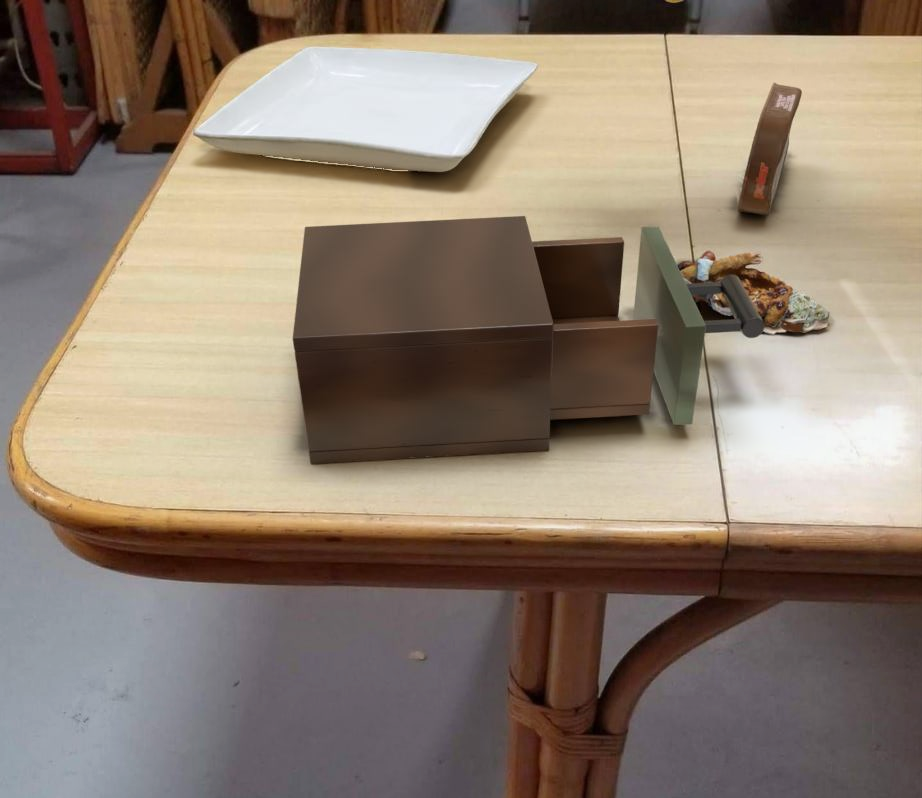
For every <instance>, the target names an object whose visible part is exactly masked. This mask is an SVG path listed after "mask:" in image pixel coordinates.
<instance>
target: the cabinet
mask: <svg viewBox="0 0 922 798" xmlns="http://www.w3.org/2000/svg"><path fill="white" fill-rule="evenodd" d="M302 240H303V241H302V249H301V258H300V267H299V276H298V285H297V294H296V304H295V313H294V322H293V331H292V344H293V350H294V359H295V365H296V366H295V367H296V372H297V380H298V386H299V393H300V394H299V395H300V401H301V407H302V416H303V420H304V421H303V422H304V429H305V434H306V442H307V448H308V449H307V450H308V456H309V463H310V464H311V465H317V464H318V465H319V464H332V463H335V464H336V463H352V462H367V461H369V460H371V461H385V460H386V461H388V460H405V459H404V458H406V459H411V458H410V457H424V458H427V457H426V456H441V457H447V456H446V455H449V456H448V457H451V456H450V455H459V456H472V455H471V454H477V455H492V454H493V453H494V454H503V453H502V452H505V453H504V454H508V453H509V454H510V453H527V452H544V451H546V450H547V451H550V440H551V439H550V435H551V420H550V412H551V385H552V358H553V331H554V324H553V320H552V316H551V313H550V309H549V305H548V301H547V297H546V293H545V290H544V286H543V282H542V278H541V274H540V270H539V266H538V263H537V259H536V255H535V251H534V247H533V243H532V242H533V240H532V237H531V232H530V229H529V225H528V220H527V217H526V215H517V216H497V217H495V216H494V217H474V218H457V219H455V218H454V219H436V220H435V219H433V220H416V221H415V220H414V221H413V220H411V221H395V222H392V221H391V222H373V223H355V224H353V223H352V224H336V225H335V224H334V225H314V226H304V231H303V238H302ZM547 451H546V452H547ZM494 454H493V455H494Z"/></svg>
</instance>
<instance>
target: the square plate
mask: <svg viewBox="0 0 922 798" xmlns="http://www.w3.org/2000/svg"><path fill="white" fill-rule="evenodd" d="M538 69H539V65H538V64H537V63H536V62H532V61H526V60H525V61H523V60H514V59H504V58H495V57H489V56H487V57H486V56H477V55H469V54H458V53H448V52H436V51H423V50H409V49H408V50H407V49H392V48H391V49H390V48H389V49H387V48H369V47H368V48H364V47H336V46H335V47H332V46H306V47H303V48H302V49H300V50H299V51H298V52H296V53H294V54H293V55H292V56H290V57H289V58H288V59H286V60H284V61H283V62H282V63H280V64H279V65H277V66H276V67H274V68H273V69H271V70H270V71H268V72H267V73H266V74H265V75H263V76H262V77H261V78H259V79H258V80H256V81H255V82H254V83H252V84H251V85H249V86H248V87H247V88H245V89H244V90H243V91H241V92H240V93H239V94H238V95H236V96H235V97H233V99H231V100H230V101H228V102H227V103H226V104H224V105H223V106H222V107H220V108H219V109H218V110H217V111H215V112H214V113H212V114H211V115H210V116H209V117H208V118H207V119H205V120H204V121H202V123H200V124H199V125H198V126H197V127H196V128H194V129H193V131H192V136H194V137H197V138H198V139H200V140H201V141H202V142H204V143H206V144H208V145H209V146H211V147H214V148H216V149H219V150H223V151H226V152H231V153H236V154H237V153H238V154H245V155H255V156H261V155H264V156H273V157H283V158H292V159H301V160H310V161H318V162H328V163H338V164H348V165H356V166H364V167H373V168H374V167H375V168H382V169H383V168H384V169H392V170H408V171H418V172H428V173H429V172H430V173H444V172H448V171H451V170H452V169H454V168H456V167H457V166H458V165H459V164H460V163H461V162H462V160H463V159H464V158H465V157H467V156H468V155H470V153H471V152H472V151H473V150H474V149H475V147H476V146H477V144H478V143H479V141H480V139H481V138H482V136H483V134H484V133H485V131H486V130H487V128H488V126H489V125H490V123H491V122H492V121H493V119H494V118H495V117H496V116H497V114H499V112H500V111H501V110H502V109H503V108H504V107H505V106H506V105H507V104H508V103H509V102H510V101H511V100H512V99H513V98H514V97H515V96H516V94H517V93H518V92H519V91H520V89H521V88H522V86H524V84H525V83H526V82H527V81H528V80H529V79H530V78H532V76H533V75H534V74H535V73H536V71H537V70H538Z"/></svg>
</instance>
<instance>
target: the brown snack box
mask: <svg viewBox="0 0 922 798" xmlns="http://www.w3.org/2000/svg"><path fill="white" fill-rule="evenodd" d="M802 94H803V91H802V89H801V88H799V87H795V86H789V85H785V84H779V83H778V84H777V83H776V82H773V83H772V85H771V87H770V90H769V93H768V95H767V98H766V100H765V103H764V105H763V107H762V109H761V111H760V112H761V113H760V116H759V119H758V121H757V125H756V129H755V133H754V136H753V139H752V144H751V148H750V151H749V155H748V159H747V165H746V168H745V172H744V177H743V180H742V186H741V190H740V195H739V200H738V204H737V205H738V206H737V212H738V213H741V212H744V213H749V214H755V215H761V216H765V215H769V213H770V211H771V209H772V206H773V203H774V200H775V197H776V194H777V191H778V188H779V185H780V180H781V177H782V173H783V169H784V166H785V161H786V158H787V155H788V149H789V145H790V135H791V129H792V125H793V122H794V121H793V120H794V118H795V117H796V116H795V115H796V113H797V110H798V108H799V105H800V102H801V98H802Z"/></svg>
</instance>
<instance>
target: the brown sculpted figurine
mask: <svg viewBox="0 0 922 798" xmlns="http://www.w3.org/2000/svg"><path fill="white" fill-rule="evenodd" d="M761 254H762V252H755V253H754V252H753V253H751V252H743V253H739V254H736V255H729V256H728V257H723V258H721V259H717V260H716V255H715V253H714V252H713V251H711V250H706V251H705V252H703V253H702V254H701V256H699V258H698V259H696V260H695V262H692V261H690V260H682V261H680V262H678V264H677V266H678V268H679V270H680V272H681V274H682V276H683V279H684V281H685V283H686V284H692V283H712V282H720V281H721V279H722V278H723V277H725V276H727V275H736V276H737V277H738V278H739V279H740V281H741V283H742V285H743V286H744V288H745V290H746V292H747V293H748V295H749V297H750V299H751V301H752V302H753V304H754V306H755V308H756V309H757V311H758V313H759V315H760V317H761V318H762V320H763V322H764V325H765V326H764V330H763V332H764V333H765V334H768V335H771V336H774V335H775V334H776V333H786V332H791V333H801V334H802V335H803V334H804V333H805V334H806V333H808V332H811V331H812V330H816V331H817V330H818V331H820V330H822V329H823V328H828V324H829V320H830V313H831V312H830V311H829V310H827V309H826V308H825V306H824V305H823V304H821V305H820V303H818V302H816V301H815V299H814V298H812V297H810V296H809V295H808V294H806V293H805V292H804V291H800V292H798V289H794V288H793V287H792V286H790V285H787V284H786V282H785V281H784V280H781V279H779V278H776V277H775V276H770V274H768V273H766V272H765V271H762V270H761V271H760V270H759V269H757V268H754V267H747V266H754V265H760V264H761V263H762V262H763V257H762V256H760V255H761ZM692 297H693V300H694V302H695V304H696V303H700V302H701V301H704V302H705V303H707V304H708V307H711V308H712V310H714V311H716V312H718V313H720V314H721V315H724V316H728V317H731V316H733V314H732V312H731V310H730V308H729V306H728V304H727V302H726V300H725V298H724V297H723V295H722V293H721V294H705V295H692Z"/></svg>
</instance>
